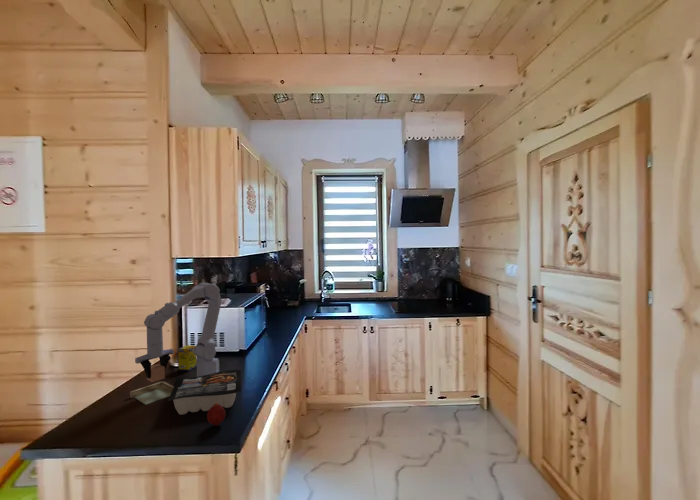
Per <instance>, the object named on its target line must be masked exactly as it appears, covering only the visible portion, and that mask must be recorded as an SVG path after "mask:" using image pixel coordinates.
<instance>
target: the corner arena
mask: <svg viewBox="0 0 700 500" xmlns="http://www.w3.org/2000/svg"><path fill="white" fill-rule="evenodd" d="M173 388H174V385H173V384H170V383H168V382H166V381H164V380H162V381H161V380H160V381H157V382H156V383H155V382H154V383H153V384H150V385H147V386H143V387H140V388H138V389H134V390H131V391H129V399H135V400H137V401H138V402H141V403H142V404H143V405H144V406H146V405H149V404H152V403H155V402H157V401H161V400H163V399H166V398H170V395H171V393H172V390H173Z"/></svg>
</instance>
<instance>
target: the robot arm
mask: <svg viewBox="0 0 700 500" xmlns="http://www.w3.org/2000/svg"><path fill="white" fill-rule="evenodd" d="M220 291H221V290H220V288H219V286H218V285H217V284H215V283H208V282H205V281H203V282H200V283H198V284H197V285H194V286H193V287H192V288H191V289H190V290H189V291H188V292H186V293H185V294H184V295H182V296H181V297H180V298H178V299H177V300H176V301H175V302H172V301H170V302H166V303H164V306H162V307H161V308H159V309H158V310H155V311H154V313H151V314H148V315H147V316H146V317H145V319H144V321H143V325H144V326H146V353H145V354H143V355H141V356H138V357H135V359H134V363H135V364H136V365H137V364H140V365H141V366H142V368H143V371H144V373H145V376H146V379H147V378H151V366H152V362H151V360H154V359H158V358H159V364H160V365H162V366H165V371H166V369H167V366H168V363H169V362H170V360H171V356H170V355H174V354H175V349H174V348H169V349H164V344H163V343H164V342H163V341H164V339H163V337H164V336H163V327H164V325H165V323H166V322H168V321H169V320H171V318H173V317H174V316H175V315H177V314H178V313H179V312H180V309H181V308H183V307H184V306H185V305H187V304H189V303H190V302H193V300H195V299H198V298H199V299H200V298H203V299H204V300H206V302H207V303H208V305H207V308H206V314H205V319H204V324H203V328H202V332H201V337H200V338H199V339H198V340H197V342H196V343H197V344H196V345H194V346H195V348H194V354H195V355H196V377H199V376H204V375H208V374H213V373H217V372H220V360H219V358H217V357H215V356H216V354H217V350H216V342H215V339H214V337H215V334H216V328H217V326H218V325H217V324H218V320H219V314H220V312H221V311H220V310H221V306H222V297H221V293H220Z"/></svg>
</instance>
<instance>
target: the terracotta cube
mask: <svg viewBox="0 0 700 500" xmlns="http://www.w3.org/2000/svg"><path fill="white" fill-rule="evenodd" d="M164 379H166V370H165V366H162V365H160V363H157V364H155V365H151V378H147V377H146V380H147V381H149V382H151V383H155V382H159V381H161V380H164Z"/></svg>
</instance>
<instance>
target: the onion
mask: <svg viewBox="0 0 700 500" xmlns="http://www.w3.org/2000/svg"><path fill="white" fill-rule="evenodd" d="M206 417H207V422H208V423H210V424H211V425H213V426H215V427H218V426H219V425H221V423H222V422H224V420H225V417H226V410H225V407H222V406H221V405H219V404H218V403H215V404H214V406H212V407H211V408H210V410H208V411H207V415H206Z"/></svg>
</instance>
